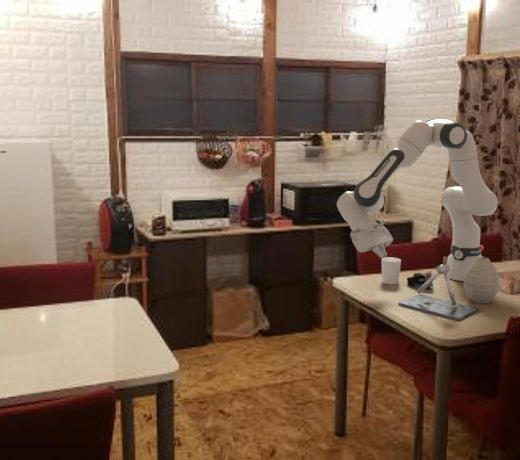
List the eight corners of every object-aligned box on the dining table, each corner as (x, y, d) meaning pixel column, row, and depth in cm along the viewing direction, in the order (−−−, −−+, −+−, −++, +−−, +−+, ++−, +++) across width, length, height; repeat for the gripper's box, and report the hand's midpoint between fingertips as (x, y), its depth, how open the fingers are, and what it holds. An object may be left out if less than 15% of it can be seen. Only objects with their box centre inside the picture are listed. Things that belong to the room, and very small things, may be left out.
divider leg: (416, 288, 225) (442, 262, 216) (422, 294, 224) (448, 269, 215) (414, 289, 224) (440, 263, 215) (420, 295, 223) (446, 270, 214)
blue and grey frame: (419, 296, 234) (422, 248, 230) (478, 310, 217) (482, 259, 214) (398, 305, 224) (400, 254, 220) (458, 320, 207) (462, 266, 203)
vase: (501, 299, 230) (505, 257, 227) (493, 308, 220) (497, 264, 217) (467, 293, 237) (470, 252, 234) (458, 302, 227) (461, 259, 224)
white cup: (376, 282, 253) (377, 259, 251) (388, 278, 259) (389, 256, 257) (392, 286, 248) (393, 262, 246) (403, 282, 253) (404, 259, 251)
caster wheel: (407, 288, 254) (432, 285, 252) (408, 290, 243) (434, 287, 241) (405, 272, 254) (430, 269, 252) (406, 273, 243) (432, 271, 241)
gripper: (353, 226, 229) (373, 256, 224) (383, 220, 243) (403, 247, 238) (343, 236, 233) (363, 265, 228) (374, 229, 247) (393, 256, 242)
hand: (384, 256), depth 233 cm, fingers closed
